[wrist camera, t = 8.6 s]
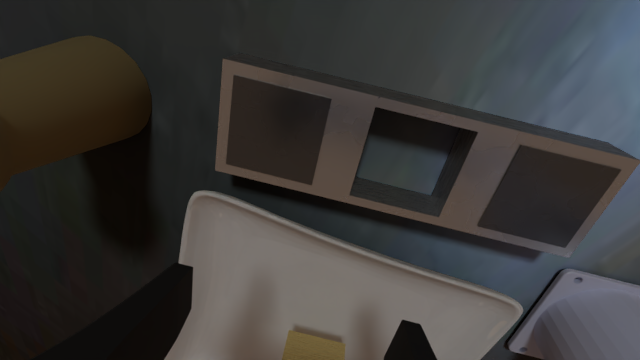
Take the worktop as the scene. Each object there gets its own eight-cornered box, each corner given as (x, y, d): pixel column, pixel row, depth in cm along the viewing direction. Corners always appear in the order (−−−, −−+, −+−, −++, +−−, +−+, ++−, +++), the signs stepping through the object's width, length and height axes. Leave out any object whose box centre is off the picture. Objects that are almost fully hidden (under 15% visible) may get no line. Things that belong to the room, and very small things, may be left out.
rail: (608, 142, 18) (642, 161, 15) (547, 232, 20) (570, 259, 18) (239, 52, 18) (222, 58, 16) (230, 153, 21) (214, 170, 18)
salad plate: (175, 354, 32) (155, 391, 29) (210, 163, 22) (185, 188, 19) (385, 421, 32) (387, 464, 29) (510, 267, 23) (533, 307, 20)
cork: (141, 39, 18) (-118, 75, 8) (159, 143, 21) (-20, 260, 11) (38, 31, 19) (-321, 55, 9) (69, 134, 21) (-178, 238, 12)
